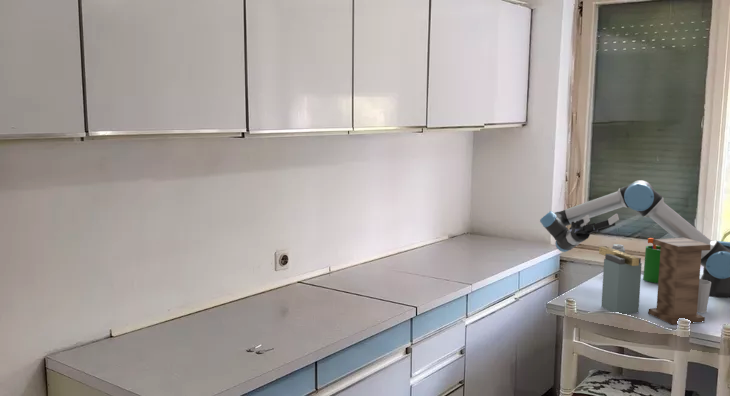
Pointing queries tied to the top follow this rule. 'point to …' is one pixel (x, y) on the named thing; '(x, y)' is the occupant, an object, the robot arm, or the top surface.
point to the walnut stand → (678, 279)
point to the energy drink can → (619, 247)
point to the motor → (652, 262)
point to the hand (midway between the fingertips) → (603, 217)
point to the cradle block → (620, 285)
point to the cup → (703, 295)
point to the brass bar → (620, 255)
